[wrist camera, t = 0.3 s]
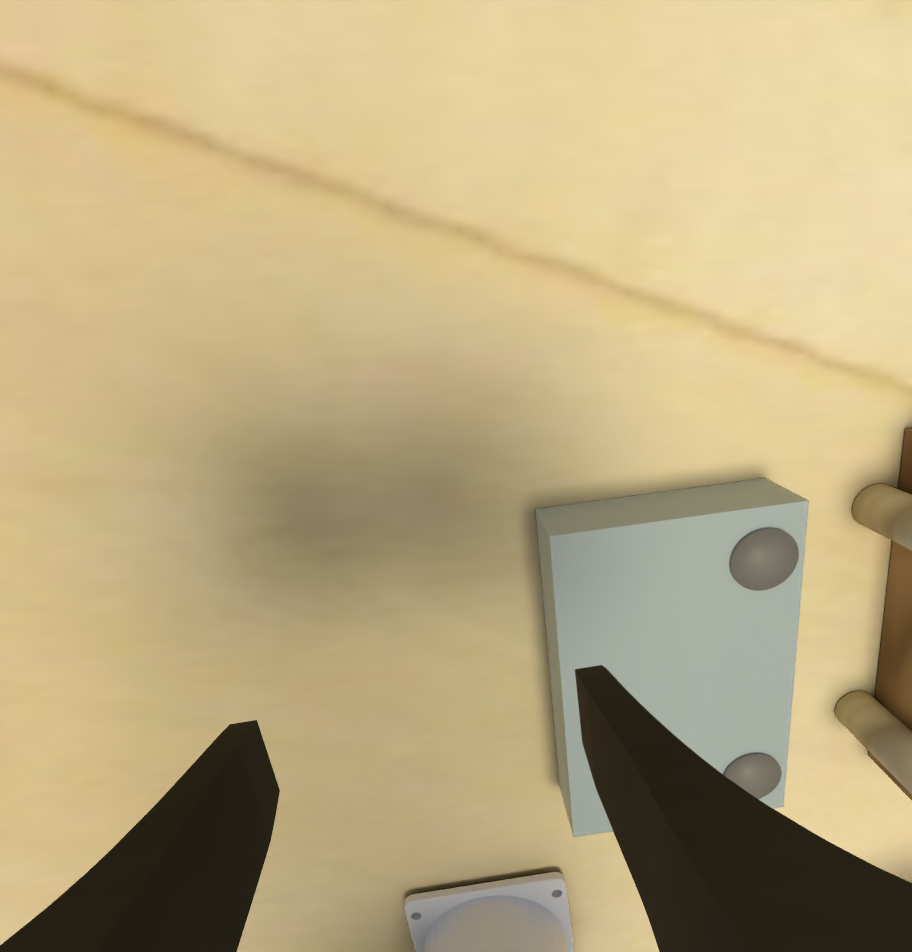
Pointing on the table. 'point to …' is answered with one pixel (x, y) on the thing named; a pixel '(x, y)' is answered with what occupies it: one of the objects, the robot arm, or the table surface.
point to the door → (678, 624)
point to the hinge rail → (889, 634)
